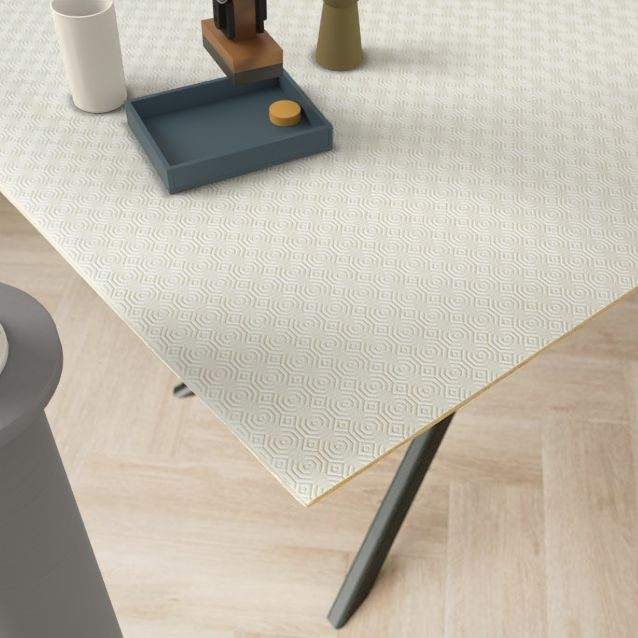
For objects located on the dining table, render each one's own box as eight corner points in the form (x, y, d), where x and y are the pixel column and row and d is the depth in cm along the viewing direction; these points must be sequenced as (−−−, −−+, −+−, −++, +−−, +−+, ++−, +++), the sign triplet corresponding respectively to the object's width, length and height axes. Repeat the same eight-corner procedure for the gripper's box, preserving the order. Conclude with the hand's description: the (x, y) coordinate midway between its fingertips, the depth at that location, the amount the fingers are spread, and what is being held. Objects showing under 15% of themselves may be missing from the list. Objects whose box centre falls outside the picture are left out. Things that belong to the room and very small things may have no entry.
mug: (138, 105, 107) (123, 8, 98) (83, 121, 104) (62, 23, 96) (106, 65, 113) (88, -30, 104) (53, 79, 110) (31, -17, 101)
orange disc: (277, 129, 103) (277, 120, 103) (264, 113, 106) (264, 104, 105) (306, 122, 105) (305, 113, 104) (292, 106, 107) (292, 97, 106)
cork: (369, 66, 114) (374, -19, 106) (324, 74, 113) (325, -12, 105) (353, 42, 118) (356, -41, 110) (308, 49, 117) (308, -35, 108)
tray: (170, 194, 96) (166, 170, 94) (127, 124, 104) (123, 100, 102) (332, 149, 102) (333, 126, 100) (280, 86, 111) (280, 63, 108)
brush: (234, 87, 93) (230, 3, 87) (202, 46, 99) (196, -37, 92) (283, 76, 95) (282, -8, 89) (249, 36, 100) (246, -45, 94)
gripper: (159, -137, 76) (179, 63, 89) (331, -160, 81) (326, 32, 95) (130, -167, 80) (154, 29, 94) (296, -187, 86) (296, 1, 99)
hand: (241, 29), depth 94 cm, fingers closed on brush, 2 cm apart
